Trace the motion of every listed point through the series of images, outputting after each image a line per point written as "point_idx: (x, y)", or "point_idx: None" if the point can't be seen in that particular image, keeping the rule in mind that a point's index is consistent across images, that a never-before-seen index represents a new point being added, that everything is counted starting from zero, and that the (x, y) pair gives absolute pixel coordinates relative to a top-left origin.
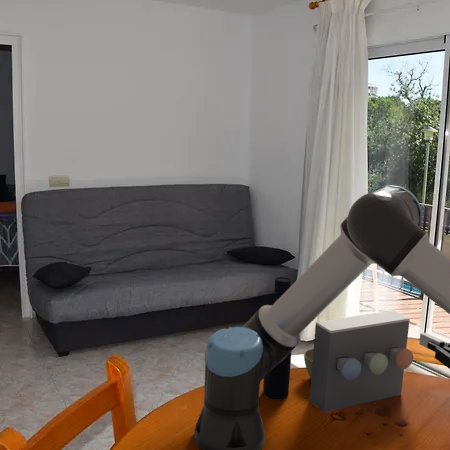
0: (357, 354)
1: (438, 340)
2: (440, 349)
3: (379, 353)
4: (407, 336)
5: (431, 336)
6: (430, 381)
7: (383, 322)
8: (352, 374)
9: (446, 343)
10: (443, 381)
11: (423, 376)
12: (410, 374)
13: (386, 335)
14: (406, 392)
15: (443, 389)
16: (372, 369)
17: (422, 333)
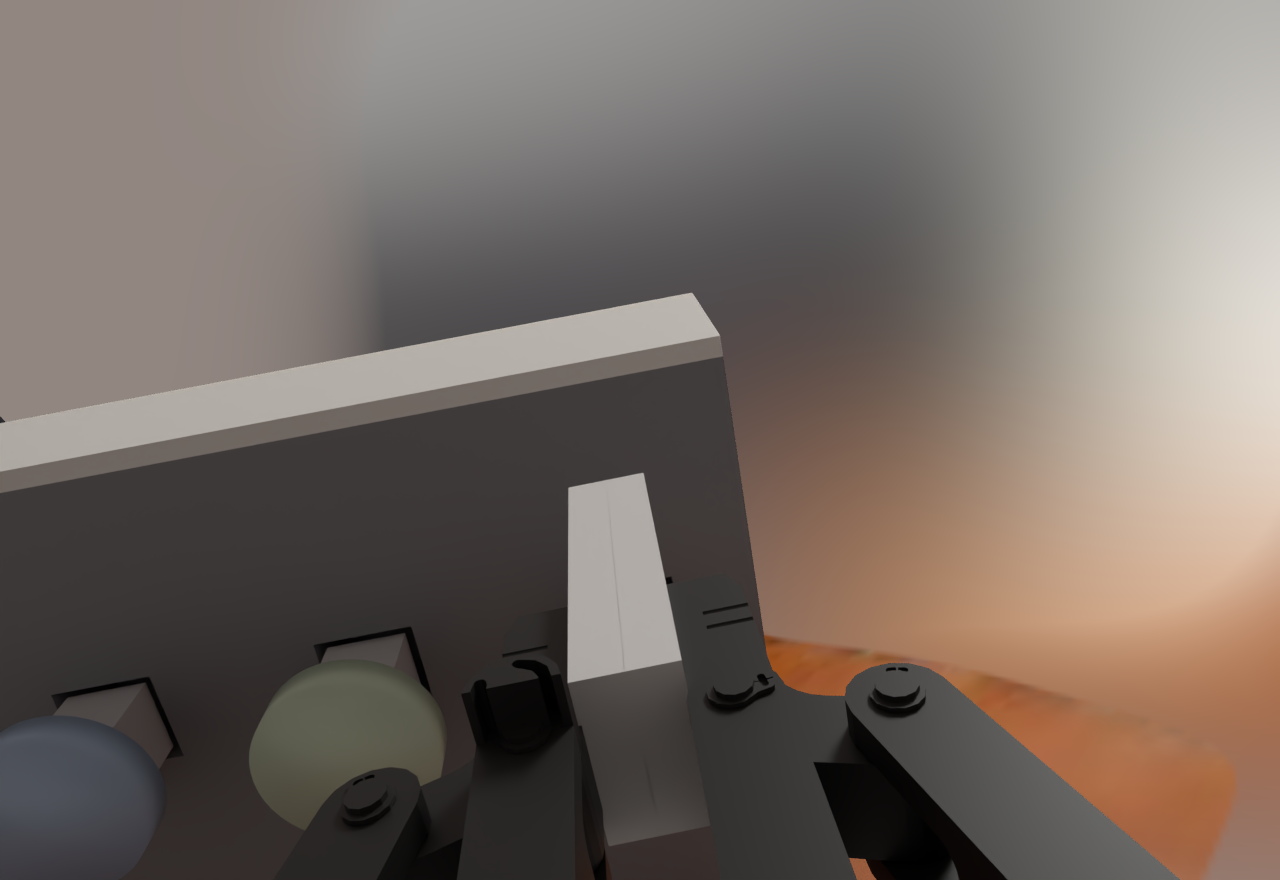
0: (248, 658)
1: (611, 608)
2: (333, 855)
3: (337, 669)
4: (741, 492)
5: (621, 533)
6: (1115, 771)
7: (419, 391)
8: (71, 852)
9: (676, 676)
10: (1225, 777)
11: (1085, 720)
12: (1001, 698)
13: (498, 498)
14: (859, 872)
15: (1188, 868)
16: (281, 804)
17: (586, 489)
